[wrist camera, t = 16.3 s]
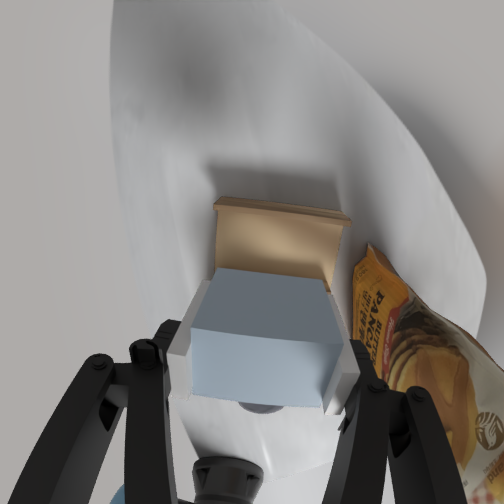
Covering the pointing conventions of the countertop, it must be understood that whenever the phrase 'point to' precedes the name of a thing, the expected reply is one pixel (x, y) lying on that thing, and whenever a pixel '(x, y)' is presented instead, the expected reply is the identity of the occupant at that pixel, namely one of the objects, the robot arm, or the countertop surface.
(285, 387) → the wing block
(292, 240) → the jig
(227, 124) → the countertop surface
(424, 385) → the pancake mix bag
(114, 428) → the robot arm
